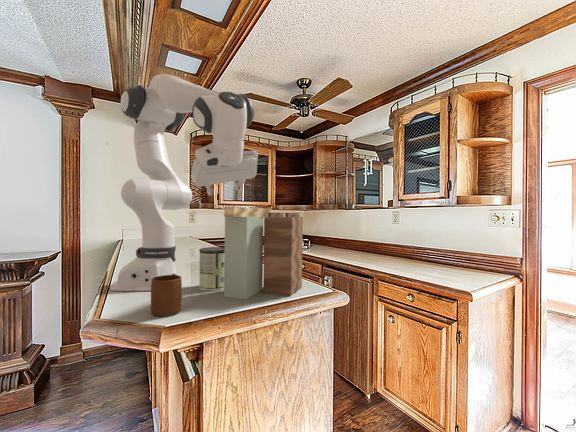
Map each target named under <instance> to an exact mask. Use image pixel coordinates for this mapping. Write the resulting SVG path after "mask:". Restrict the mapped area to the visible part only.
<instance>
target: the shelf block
mask: <svg viewBox="0 0 576 432" xmlns="http://www.w3.org/2000/svg"><path fill="white" fill-rule="evenodd" d="M224 248H225V257H224V289H223V297H225V298H231V299H232V298H233V299H238V300H239V299H241V300H248V299H249V298H251V297H252V296H254V295H256V294H258V293H260V292H261V291H263V275H264V217H224Z"/></svg>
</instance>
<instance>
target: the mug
mask: <svg viewBox="0 0 576 432" xmlns="http://www.w3.org/2000/svg"><path fill="white" fill-rule="evenodd" d="M182 284H183V282H182V276H181V275H178V274H177V275H176V274H172V275H164V276H158V277H154V278H152V282H151V291H150V314H151V315H152V316H154V317H157V318H158V317H159V318H163V317H166V318H167V317H172V316H174V315H177V314H179V313H180V311H181V310H182V297H183V296H182V295H183V293H182V291H183V290H182V287H183V286H182Z"/></svg>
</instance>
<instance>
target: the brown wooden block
mask: <svg viewBox="0 0 576 432" xmlns="http://www.w3.org/2000/svg"><path fill="white" fill-rule="evenodd" d="M303 219H304V218H303V216H300V212H285V213H284V212H271V213H268V217H263V279H262V291H263V293H264V294H268V295H269V294H271V295H276V296H278V295H280V296H285V295H286V296H287V297H292V296H293V295H295V294H296V293H297V292H298V291H299V290H300V289H302V287H303V286H302V285H303V233H304V231H303V230H304V229H303V228H304V227H303V225H304V224H303V223H304V220H303ZM291 295H292V296H291Z"/></svg>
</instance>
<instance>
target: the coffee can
mask: <svg viewBox="0 0 576 432" xmlns="http://www.w3.org/2000/svg"><path fill="white" fill-rule="evenodd" d="M198 251H199V286H198V288H199V289H200V290H201V291H207V292H214V291H221V290H222V291H223V290H224V257H225V246H224V247H220V246H214V247H213V246H211V247H202V248H199V250H198Z"/></svg>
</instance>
